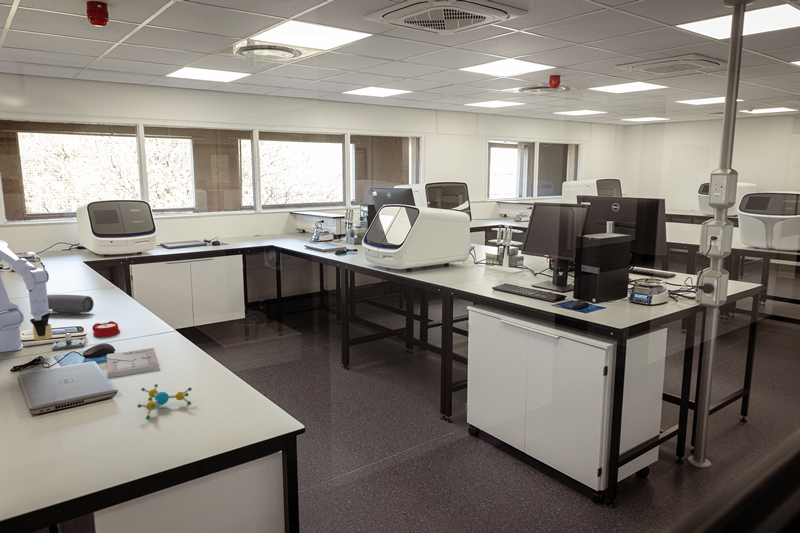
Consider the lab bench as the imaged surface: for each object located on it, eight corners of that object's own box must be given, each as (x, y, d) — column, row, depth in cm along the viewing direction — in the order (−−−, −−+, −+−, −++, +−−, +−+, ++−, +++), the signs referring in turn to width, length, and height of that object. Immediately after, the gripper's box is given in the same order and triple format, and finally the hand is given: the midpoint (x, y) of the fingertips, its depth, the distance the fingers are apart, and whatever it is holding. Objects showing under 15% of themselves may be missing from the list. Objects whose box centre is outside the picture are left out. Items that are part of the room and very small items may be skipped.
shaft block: (52, 350, 206) (50, 337, 205) (54, 344, 213) (52, 332, 212) (84, 346, 211) (82, 333, 210) (85, 341, 218) (83, 328, 217)
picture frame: (107, 360, 197) (107, 379, 179) (106, 354, 197) (107, 372, 179) (154, 353, 206) (159, 370, 187) (153, 347, 205) (159, 364, 187)
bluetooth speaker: (95, 312, 265) (93, 293, 263) (82, 317, 256) (80, 297, 254) (54, 310, 267) (52, 292, 266) (40, 315, 258) (38, 296, 257)
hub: (33, 340, 197) (32, 328, 197) (35, 337, 202) (34, 324, 201) (51, 338, 200) (49, 326, 199) (52, 335, 205) (51, 323, 204)
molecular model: (198, 404, 159) (174, 391, 168) (197, 389, 158) (173, 377, 167) (144, 423, 146) (122, 408, 156) (143, 407, 146) (120, 393, 155)
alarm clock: (95, 331, 220) (89, 316, 231) (95, 344, 222) (90, 329, 233) (122, 327, 227) (115, 313, 237) (122, 339, 229) (115, 325, 240)
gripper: (48, 302, 194) (52, 337, 196) (53, 295, 207) (56, 327, 209) (26, 304, 191) (30, 339, 193) (31, 296, 203) (35, 329, 206)
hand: (42, 333), depth 201 cm, fingers closed on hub, 6 cm apart
